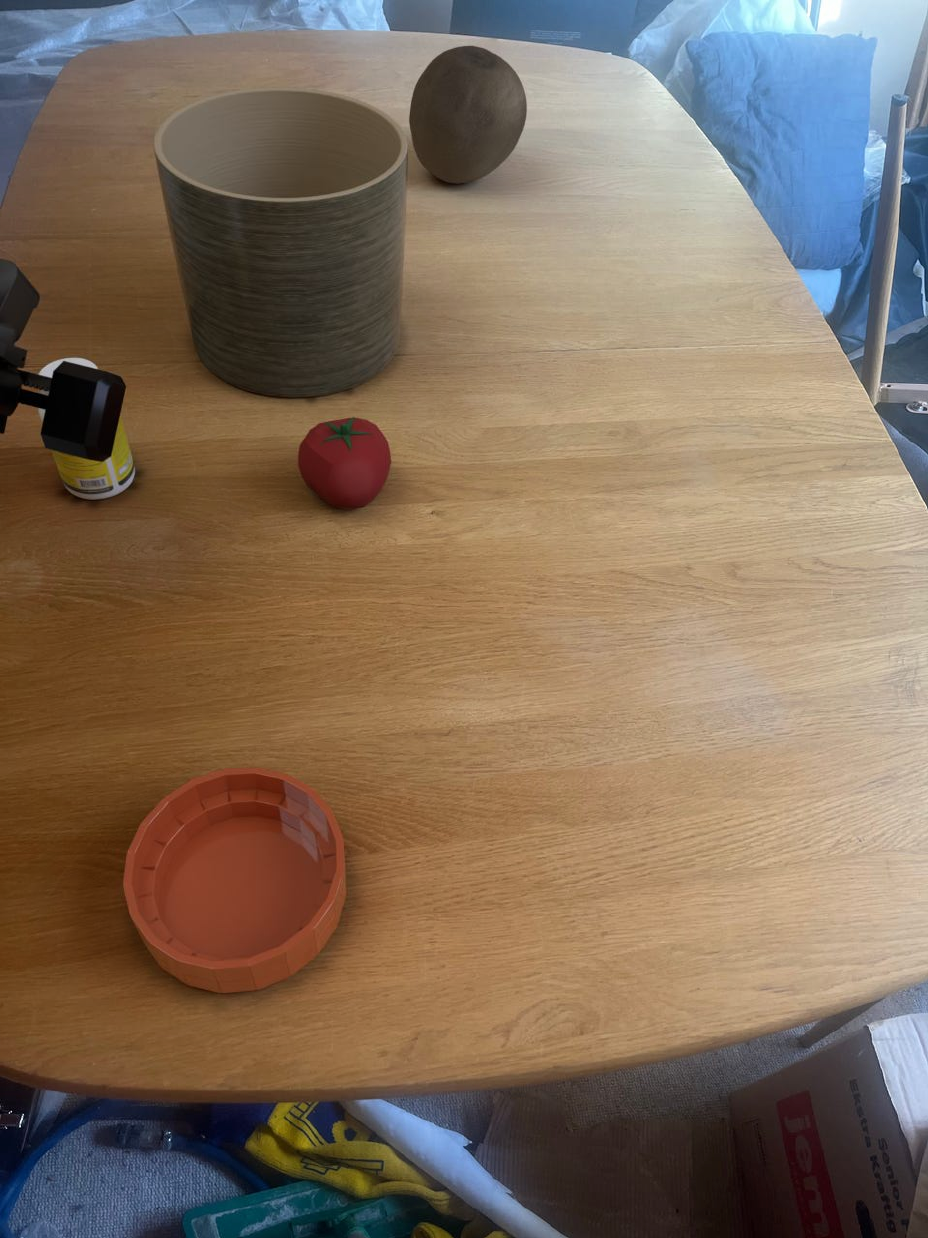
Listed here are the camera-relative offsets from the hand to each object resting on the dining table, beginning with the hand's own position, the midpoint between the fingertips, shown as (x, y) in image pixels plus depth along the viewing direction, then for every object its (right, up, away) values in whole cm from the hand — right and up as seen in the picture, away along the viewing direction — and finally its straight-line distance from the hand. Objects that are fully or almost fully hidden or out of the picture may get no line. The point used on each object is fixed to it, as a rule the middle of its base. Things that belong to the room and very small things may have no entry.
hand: (59, 406), depth 76 cm
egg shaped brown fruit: (+32, +41, +49) cm, 71 cm away
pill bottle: (0, -5, +9) cm, 10 cm away
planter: (+15, +13, +24) cm, 31 cm away
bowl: (+18, -34, -15) cm, 42 cm away
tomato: (+22, -6, +10) cm, 25 cm away
